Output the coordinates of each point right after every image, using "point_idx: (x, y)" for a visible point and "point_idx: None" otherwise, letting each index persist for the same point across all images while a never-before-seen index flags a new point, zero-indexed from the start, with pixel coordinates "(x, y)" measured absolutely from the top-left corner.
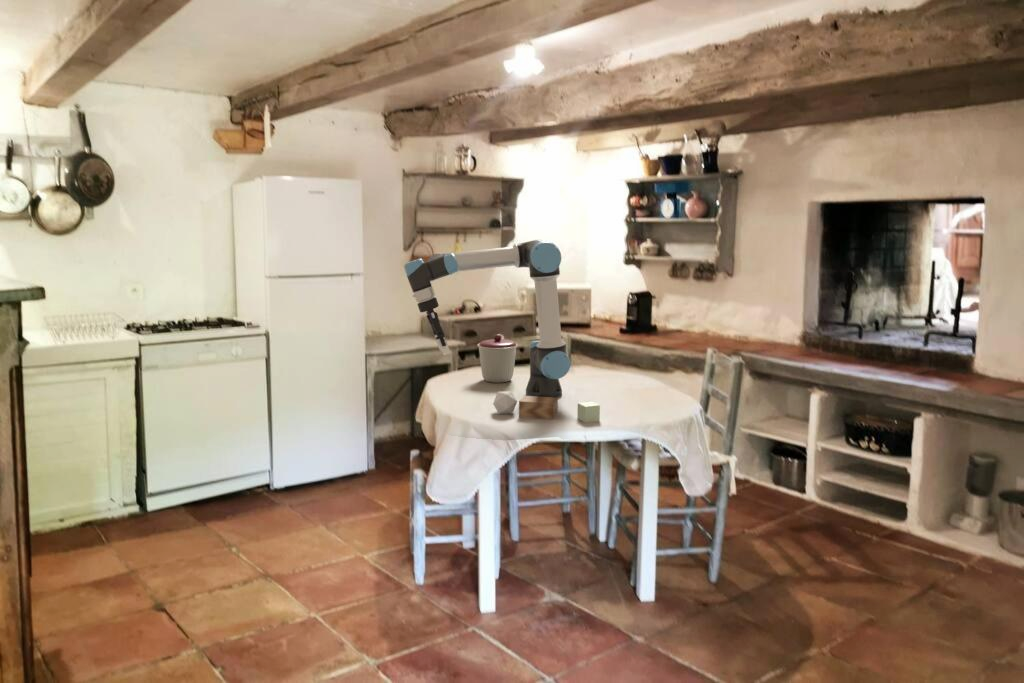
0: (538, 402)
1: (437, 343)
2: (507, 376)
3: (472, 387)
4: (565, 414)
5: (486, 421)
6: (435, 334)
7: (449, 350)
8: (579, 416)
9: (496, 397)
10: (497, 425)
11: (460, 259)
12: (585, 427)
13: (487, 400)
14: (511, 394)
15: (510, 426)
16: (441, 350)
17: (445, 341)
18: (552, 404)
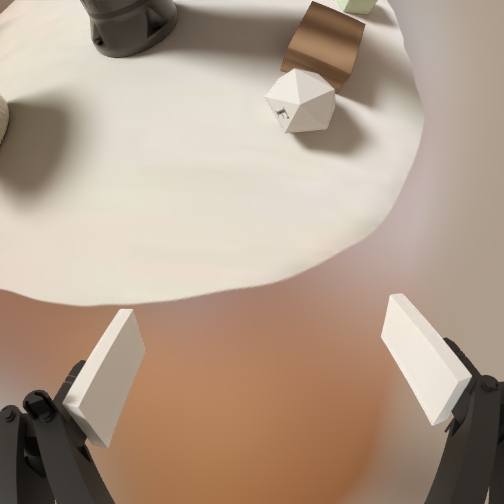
0: (359, 43)
1: (127, 394)
2: (4, 103)
3: (20, 188)
4: None
5: (372, 175)
6: (83, 443)
7: (410, 304)
8: (351, 9)
9: (316, 118)
10: (402, 158)
11: None
12: (396, 27)
13: (149, 145)
14: (311, 74)
15: (407, 134)
16: (142, 345)
17: (447, 354)
18: (364, 26)
